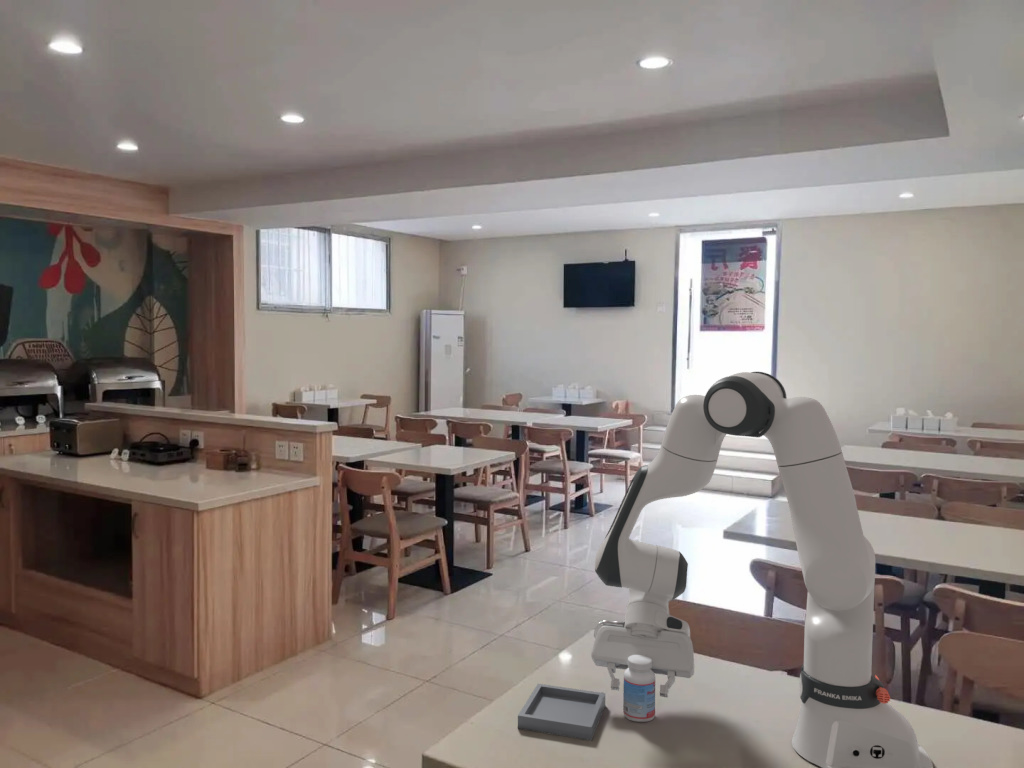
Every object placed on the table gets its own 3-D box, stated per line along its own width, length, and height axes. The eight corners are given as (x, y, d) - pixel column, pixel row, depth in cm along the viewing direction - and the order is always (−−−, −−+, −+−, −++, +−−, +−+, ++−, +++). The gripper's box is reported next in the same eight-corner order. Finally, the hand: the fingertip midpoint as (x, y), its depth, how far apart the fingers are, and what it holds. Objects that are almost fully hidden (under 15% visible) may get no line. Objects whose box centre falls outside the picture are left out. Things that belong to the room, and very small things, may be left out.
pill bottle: (654, 725, 144) (655, 667, 143) (622, 721, 145) (623, 664, 145) (655, 709, 150) (656, 654, 149) (624, 706, 151) (624, 651, 151)
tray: (605, 705, 152) (605, 693, 152) (591, 740, 138) (591, 727, 138) (537, 695, 156) (537, 683, 156) (517, 728, 143) (517, 715, 142)
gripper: (594, 612, 156) (583, 678, 148) (696, 623, 150) (691, 693, 142) (598, 625, 161) (588, 691, 152) (697, 637, 155) (692, 706, 146)
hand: (638, 692), depth 147 cm, fingers open, 8 cm apart
